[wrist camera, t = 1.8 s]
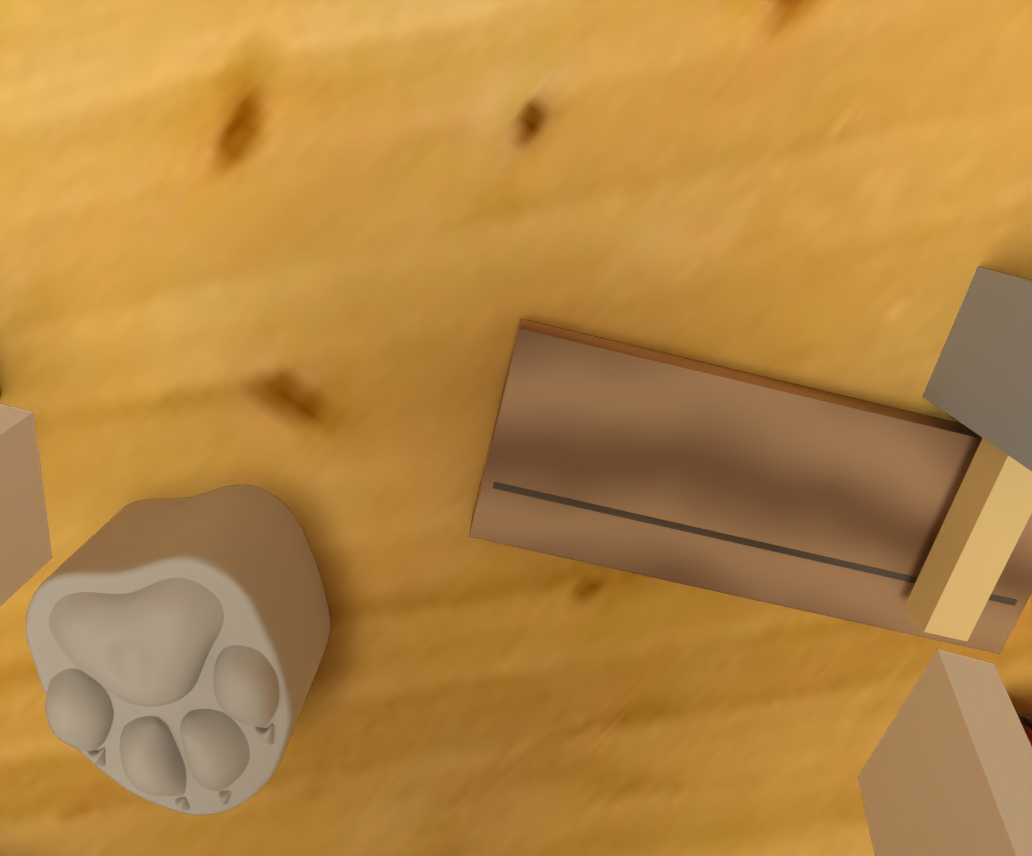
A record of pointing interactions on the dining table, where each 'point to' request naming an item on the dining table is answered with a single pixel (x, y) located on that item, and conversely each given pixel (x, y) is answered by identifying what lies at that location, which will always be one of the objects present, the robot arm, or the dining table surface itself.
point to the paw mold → (183, 645)
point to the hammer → (981, 452)
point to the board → (728, 482)
